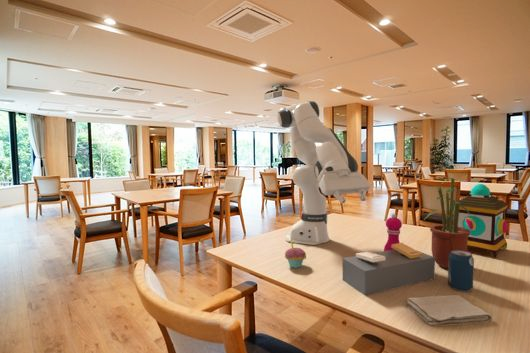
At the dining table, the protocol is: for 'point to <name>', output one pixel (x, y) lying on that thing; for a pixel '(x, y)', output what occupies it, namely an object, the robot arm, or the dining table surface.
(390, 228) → the pepper mill
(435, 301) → the washcloth
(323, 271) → the dining table surface
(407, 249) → the bar
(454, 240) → the potted plant
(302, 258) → the cupcake
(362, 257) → the cream rocker
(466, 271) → the soda can
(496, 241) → the decorative lantern
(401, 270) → the grey rectangular block
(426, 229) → the dining table surface
